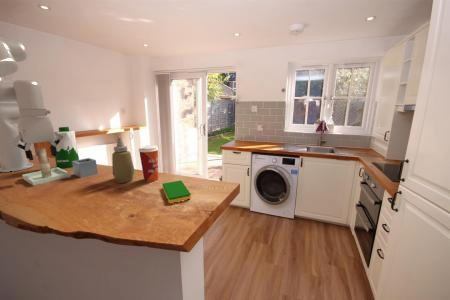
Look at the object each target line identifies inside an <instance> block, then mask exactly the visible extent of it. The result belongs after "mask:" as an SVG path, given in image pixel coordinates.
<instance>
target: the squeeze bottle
mask: <svg viewBox="0 0 450 300" xmlns="http://www.w3.org/2000/svg"><path fill="white" fill-rule="evenodd" d="M113 150H114V152H113V153H112V154H111V157H112V158H111V159H112V162H111V163H112V176H113V177H114V180H115V181H116V183H118V184H123V183H124V184H125V183H129V182H131V181H133V178H134V175H135V166H134V163H133V157H132V154H131V152H130V151H129V150H128V146H127V145H125V144H124V142H123V139H122V137H117V141H116V146H114V147H113Z"/></svg>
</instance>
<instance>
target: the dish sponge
mask: <svg viewBox="0 0 450 300" xmlns="http://www.w3.org/2000/svg"><path fill="white" fill-rule="evenodd" d="M162 189H163V192H164V194H166V195H165V197H166V200H167V199H168V200H167V203H168V204H169V203H173V204H175V203H174V202H178V201H182V200H187V199H191V200H192V194H191V192H190V190H189V189H188V187H187V186H186V185H185V184H184V182H183V181H182V180H176V181H170V182H163V183H162ZM187 201H188V200H187ZM182 202H183V201H182ZM178 203H179V202H178Z"/></svg>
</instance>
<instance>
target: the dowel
mask: <svg viewBox="0 0 450 300" xmlns="http://www.w3.org/2000/svg"><path fill="white" fill-rule="evenodd" d="M36 154H37V159H38V163H39V168H40V171H41V173H42V178H48V177H51V176H52V174H51V170H50V169H51V165H50V161H49V160H50V159H49V155H48V150H47V147H46V148H45V147H43V148H37V149H36Z"/></svg>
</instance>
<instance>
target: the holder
mask: <svg viewBox="0 0 450 300" xmlns="http://www.w3.org/2000/svg"><path fill="white" fill-rule="evenodd" d="M72 165H73V167H72V169H73V174H74V176H75V177H78V178H79V179H82V178H85V177H86V178H87V177H90V176H93V175H97V174H98V173H99V172H98V171H99V170H98V166H97V161H96V159H94V158H90V157H87V158H83V159H79V160H76V161H72Z"/></svg>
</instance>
